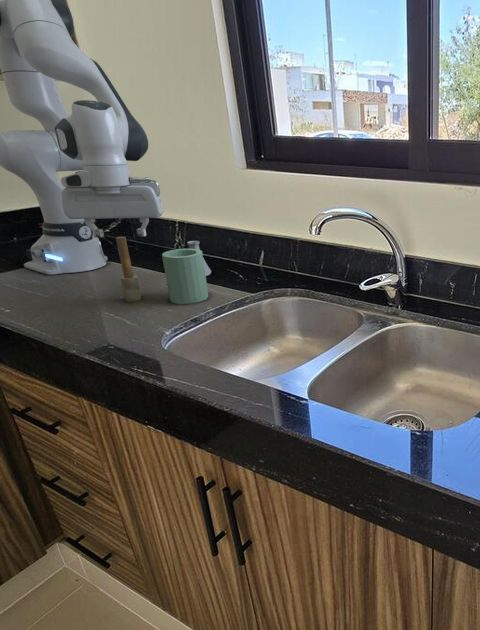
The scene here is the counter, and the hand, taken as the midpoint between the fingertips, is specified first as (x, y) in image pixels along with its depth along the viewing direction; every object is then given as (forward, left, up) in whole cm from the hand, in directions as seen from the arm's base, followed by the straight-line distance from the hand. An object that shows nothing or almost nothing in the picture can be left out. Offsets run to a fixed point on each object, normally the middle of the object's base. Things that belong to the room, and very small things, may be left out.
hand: (120, 236), depth 114 cm
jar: (+12, +6, -16) cm, 21 cm away
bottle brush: (0, 0, -16) cm, 16 cm away
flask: (0, +23, -16) cm, 28 cm away
